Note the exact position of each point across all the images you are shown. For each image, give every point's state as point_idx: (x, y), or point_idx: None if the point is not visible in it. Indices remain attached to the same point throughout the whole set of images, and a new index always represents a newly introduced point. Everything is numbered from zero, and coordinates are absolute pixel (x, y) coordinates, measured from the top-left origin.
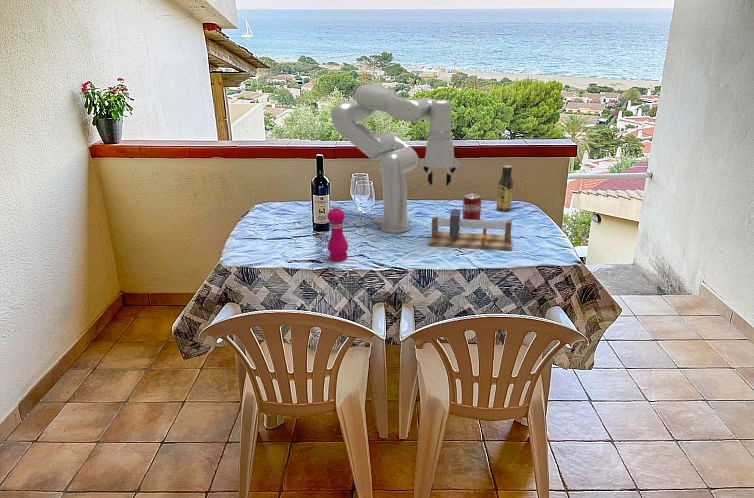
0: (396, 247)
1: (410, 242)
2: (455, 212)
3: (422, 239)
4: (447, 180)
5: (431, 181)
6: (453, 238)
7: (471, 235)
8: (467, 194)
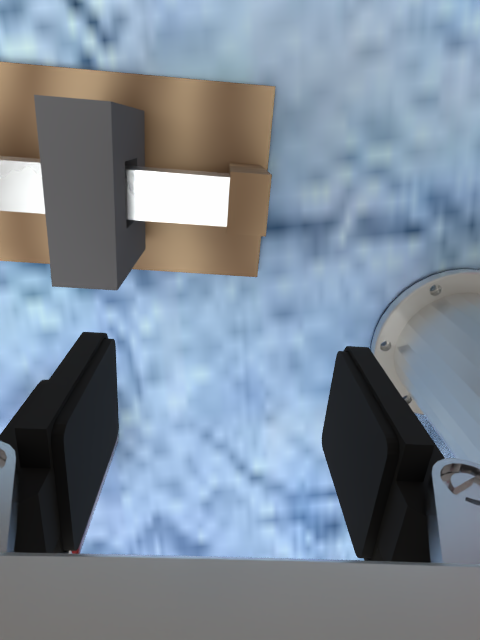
0: (463, 42)
1: (377, 138)
2: (78, 207)
3: (309, 194)
4: (73, 368)
5: (350, 375)
6: None
7: (34, 226)
8: None
